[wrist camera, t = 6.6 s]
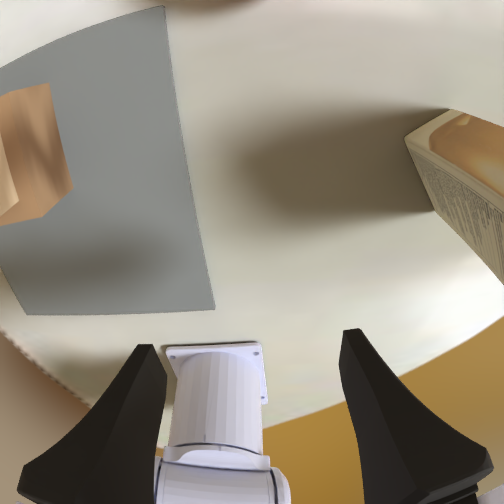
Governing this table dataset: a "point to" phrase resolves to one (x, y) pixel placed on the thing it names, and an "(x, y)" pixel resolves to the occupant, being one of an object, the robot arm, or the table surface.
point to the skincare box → (465, 179)
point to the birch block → (6, 184)
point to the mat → (110, 180)
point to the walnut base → (33, 152)
